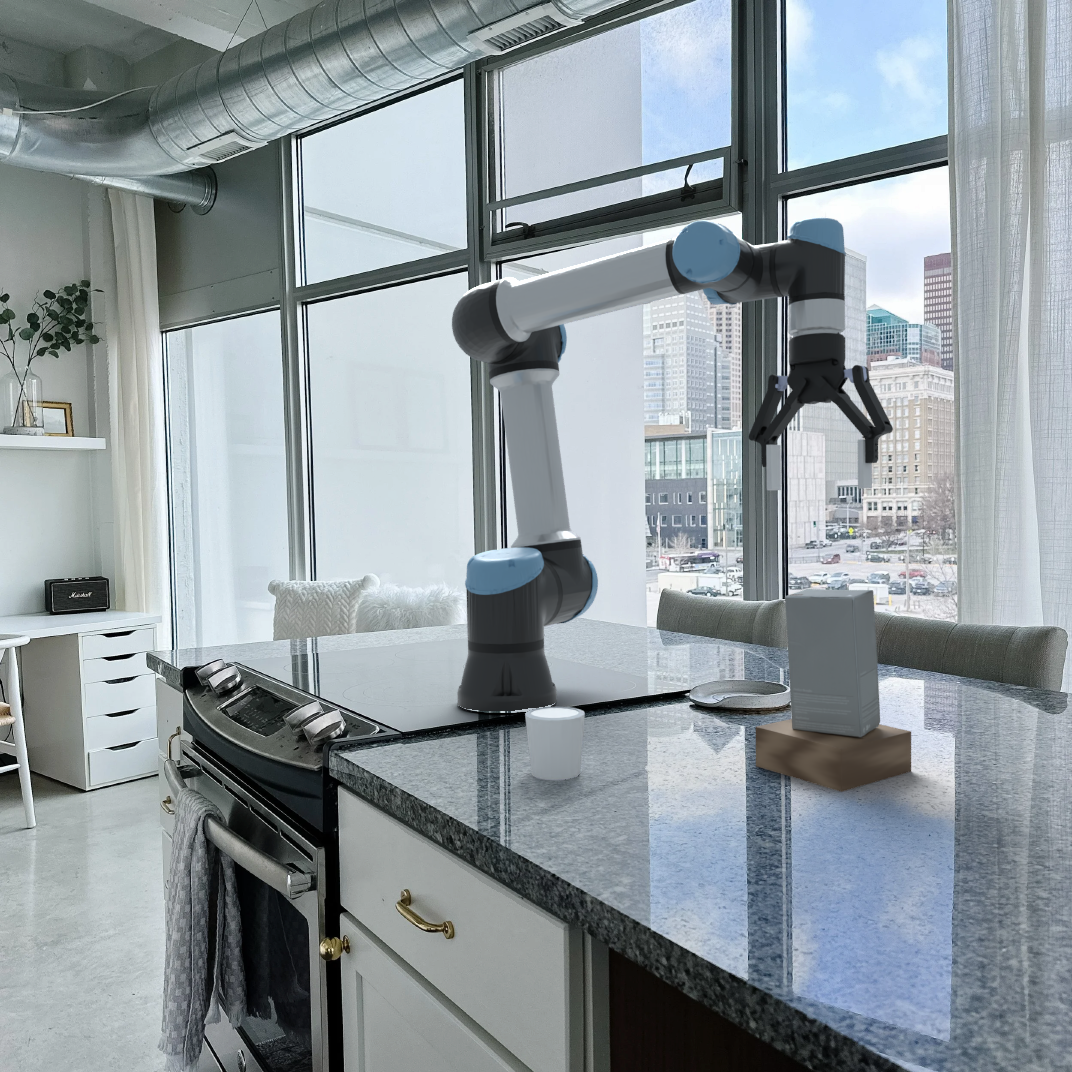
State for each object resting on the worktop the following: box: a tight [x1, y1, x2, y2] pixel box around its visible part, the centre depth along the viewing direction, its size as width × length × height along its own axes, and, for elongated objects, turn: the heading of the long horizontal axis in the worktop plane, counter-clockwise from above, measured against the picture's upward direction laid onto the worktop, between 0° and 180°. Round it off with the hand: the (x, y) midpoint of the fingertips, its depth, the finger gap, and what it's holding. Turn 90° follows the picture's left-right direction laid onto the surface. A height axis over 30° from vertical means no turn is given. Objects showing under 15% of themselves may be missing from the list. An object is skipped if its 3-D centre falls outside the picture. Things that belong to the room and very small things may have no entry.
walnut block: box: [755, 718, 912, 793], centre depth 108 cm, size 12×12×5 cm
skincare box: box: [784, 588, 881, 737], centre depth 108 cm, size 8×7×16 cm
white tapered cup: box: [524, 706, 586, 781], centre depth 108 cm, size 7×7×7 cm
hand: (817, 489), depth 132 cm, fingers open, 13 cm apart
